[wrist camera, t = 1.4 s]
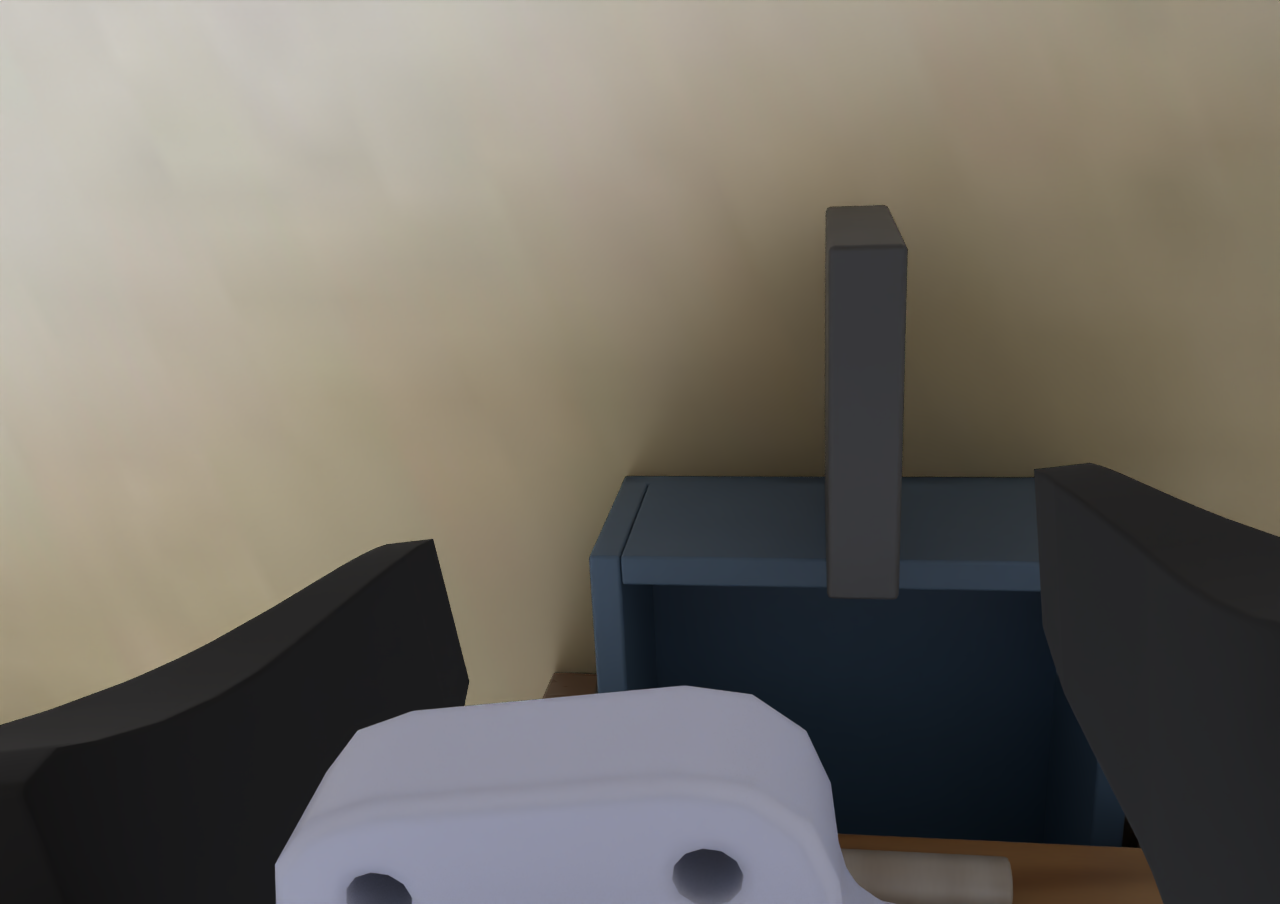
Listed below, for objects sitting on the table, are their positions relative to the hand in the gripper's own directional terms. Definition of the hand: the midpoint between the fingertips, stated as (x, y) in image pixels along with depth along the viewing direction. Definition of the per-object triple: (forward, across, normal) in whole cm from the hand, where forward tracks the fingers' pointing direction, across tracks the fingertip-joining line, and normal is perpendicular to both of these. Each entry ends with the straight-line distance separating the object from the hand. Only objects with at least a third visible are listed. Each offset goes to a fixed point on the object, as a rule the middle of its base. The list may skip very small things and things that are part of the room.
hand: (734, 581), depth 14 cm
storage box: (+11, -2, +6) cm, 13 cm away
